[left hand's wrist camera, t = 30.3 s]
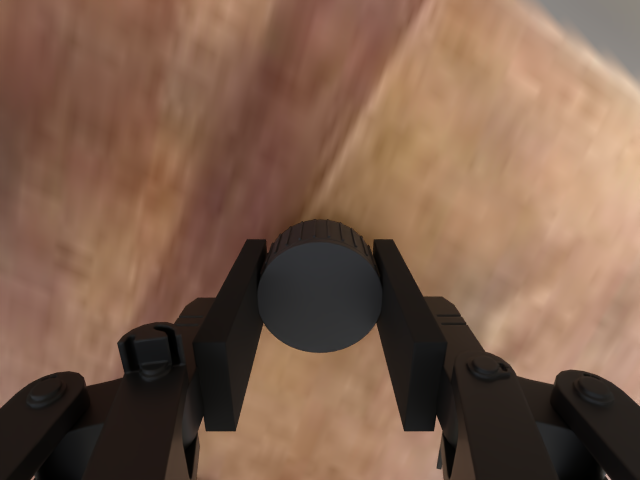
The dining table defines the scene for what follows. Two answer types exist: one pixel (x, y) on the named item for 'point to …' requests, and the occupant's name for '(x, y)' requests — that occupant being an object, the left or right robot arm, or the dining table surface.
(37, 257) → the dining table surface
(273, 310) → the cap
